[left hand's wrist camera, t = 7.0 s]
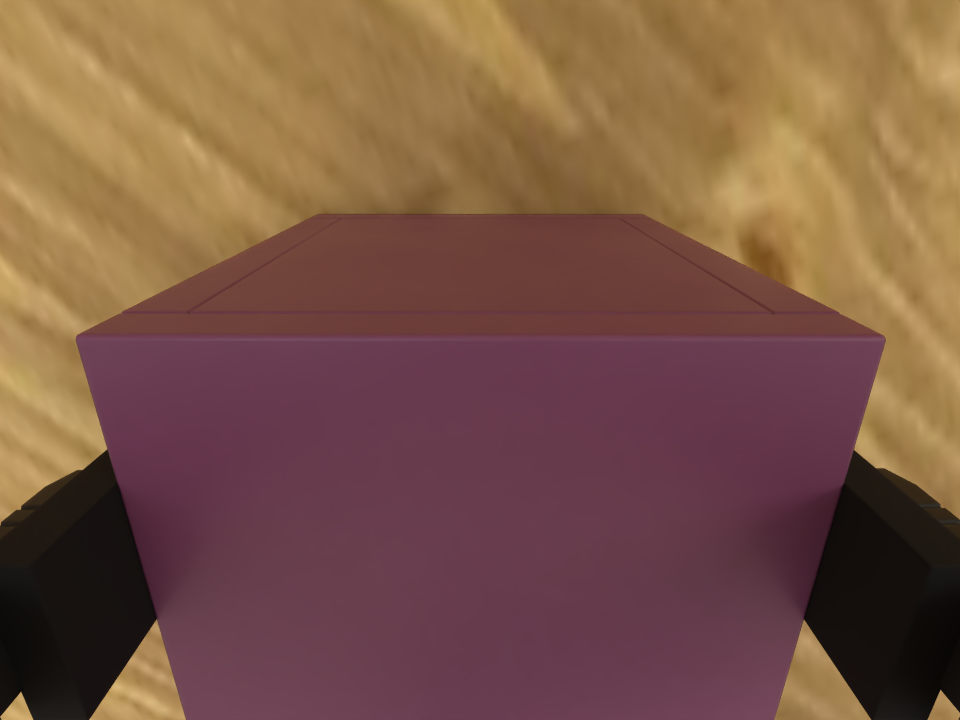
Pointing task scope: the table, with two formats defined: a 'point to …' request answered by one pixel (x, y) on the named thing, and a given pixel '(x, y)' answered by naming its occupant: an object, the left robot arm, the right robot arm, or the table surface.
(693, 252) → the purple rectangular block
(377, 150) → the table surface
